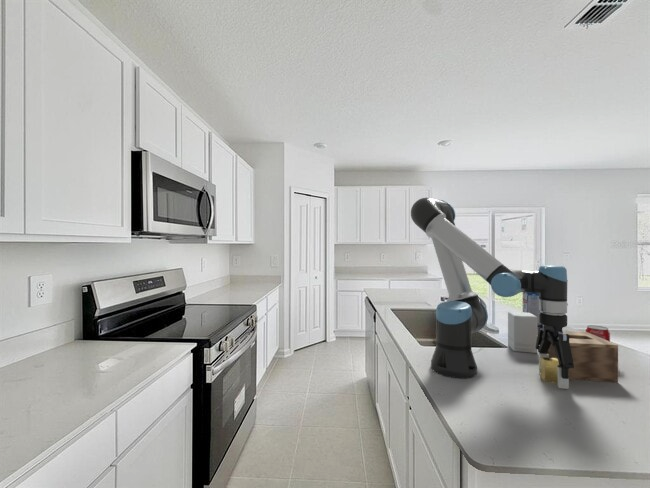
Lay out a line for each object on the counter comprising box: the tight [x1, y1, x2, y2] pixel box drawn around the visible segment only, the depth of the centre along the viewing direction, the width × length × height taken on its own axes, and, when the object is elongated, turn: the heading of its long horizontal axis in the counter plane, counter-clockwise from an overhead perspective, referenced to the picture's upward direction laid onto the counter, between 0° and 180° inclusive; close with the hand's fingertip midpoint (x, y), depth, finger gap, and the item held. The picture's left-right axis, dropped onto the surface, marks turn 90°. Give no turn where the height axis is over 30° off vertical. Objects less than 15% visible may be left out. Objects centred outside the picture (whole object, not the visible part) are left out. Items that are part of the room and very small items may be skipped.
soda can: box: [585, 325, 611, 342], centre depth 123 cm, size 7×7×13 cm
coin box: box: [539, 330, 619, 383], centre depth 114 cm, size 16×16×12 cm
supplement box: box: [507, 311, 538, 354], centre depth 138 cm, size 9×9×15 cm
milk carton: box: [522, 292, 541, 328], centre depth 179 cm, size 10×6×20 cm, turn 161°
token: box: [540, 357, 559, 384], centre depth 106 cm, size 6×3×7 cm, turn 80°
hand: (553, 380), depth 106 cm, fingers open, 11 cm apart
